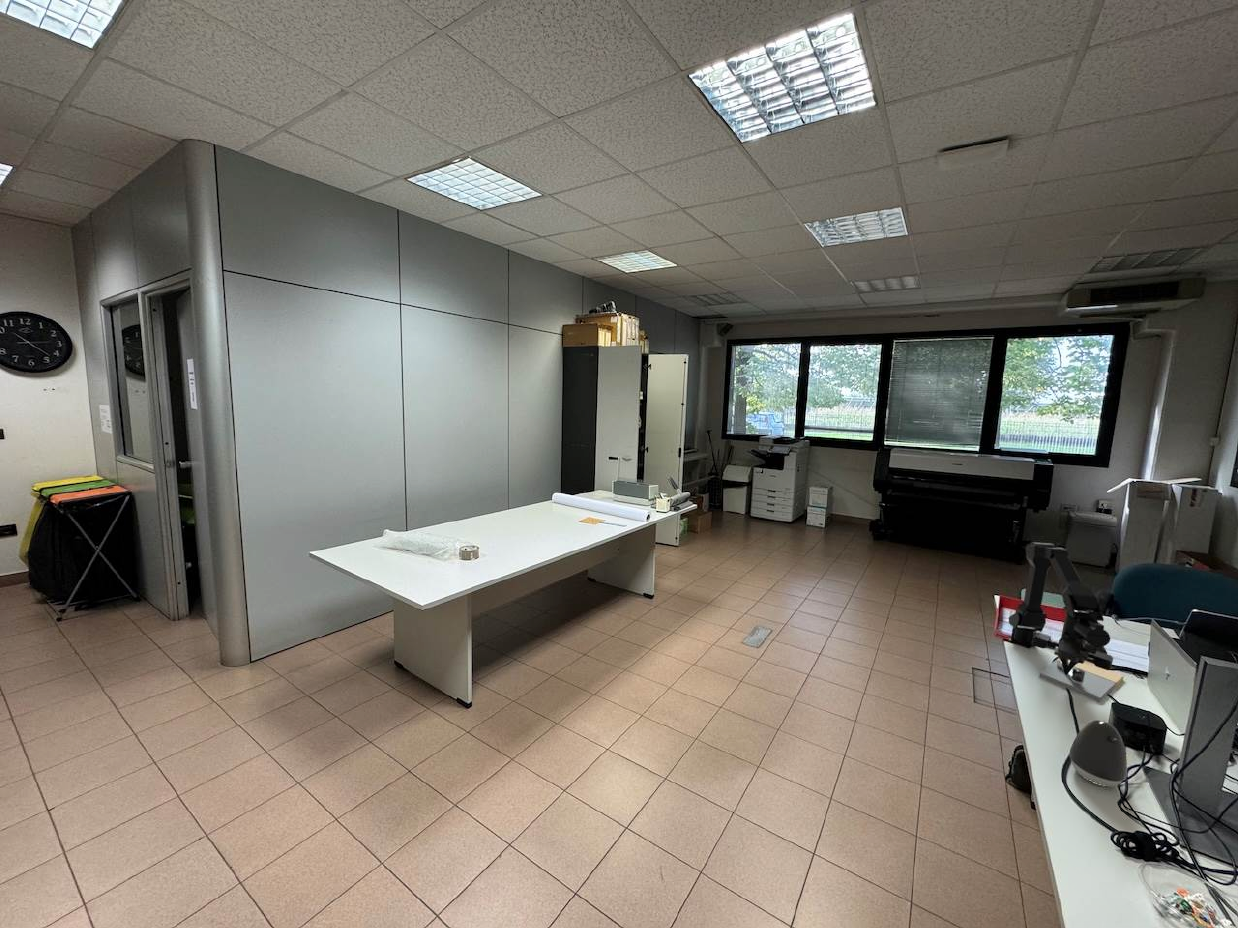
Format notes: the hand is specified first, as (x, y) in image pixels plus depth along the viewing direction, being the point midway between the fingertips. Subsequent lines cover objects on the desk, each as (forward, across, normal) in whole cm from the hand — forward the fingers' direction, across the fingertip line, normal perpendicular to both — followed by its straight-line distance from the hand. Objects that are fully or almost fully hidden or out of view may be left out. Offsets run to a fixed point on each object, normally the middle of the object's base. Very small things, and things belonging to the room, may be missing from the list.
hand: (1065, 674), depth 158 cm
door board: (+4, +3, +9) cm, 10 cm away
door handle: (+2, +1, +5) cm, 5 cm away
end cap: (+4, +3, +29) cm, 30 cm away
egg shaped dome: (+4, +12, -44) cm, 45 cm away
